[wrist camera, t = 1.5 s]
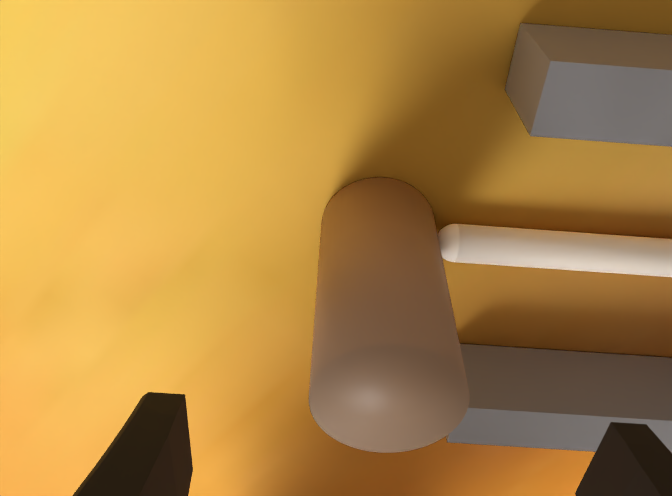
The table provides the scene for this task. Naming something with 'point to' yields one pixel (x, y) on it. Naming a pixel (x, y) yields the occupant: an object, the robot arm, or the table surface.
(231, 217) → the table surface
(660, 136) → the dark grey tray
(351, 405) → the tethered block
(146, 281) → the table surface
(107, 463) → the robot arm
